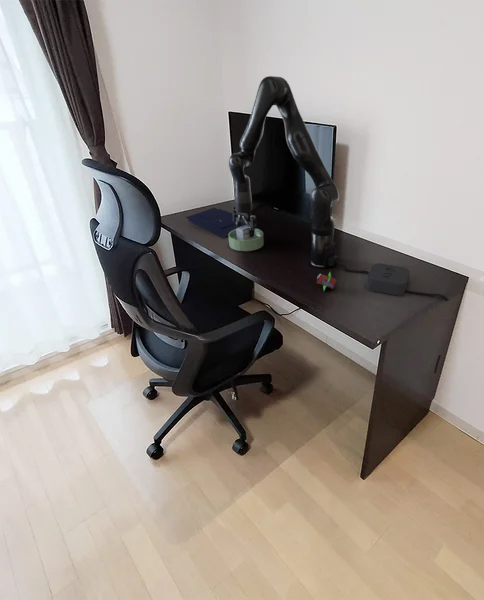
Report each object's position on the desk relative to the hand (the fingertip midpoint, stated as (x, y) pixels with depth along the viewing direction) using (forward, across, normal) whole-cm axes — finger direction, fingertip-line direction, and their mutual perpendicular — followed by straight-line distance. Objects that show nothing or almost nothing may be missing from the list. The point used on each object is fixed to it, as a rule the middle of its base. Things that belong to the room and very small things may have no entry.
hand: (245, 234), depth 172 cm
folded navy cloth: (+6, -30, +8) cm, 31 cm away
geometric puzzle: (+5, +54, -8) cm, 55 cm away
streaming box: (+5, +70, +10) cm, 71 cm away
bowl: (+5, 0, 0) cm, 5 cm away
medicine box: (+5, 0, 0) cm, 5 cm away
